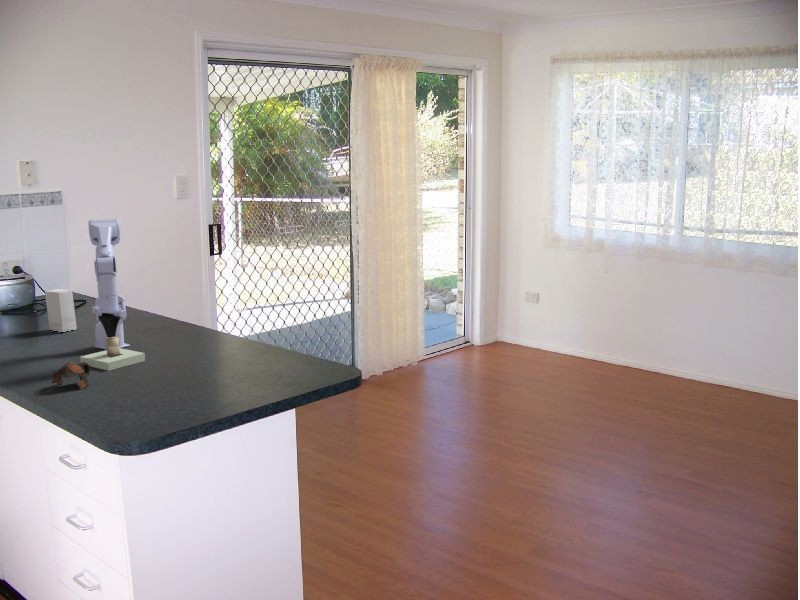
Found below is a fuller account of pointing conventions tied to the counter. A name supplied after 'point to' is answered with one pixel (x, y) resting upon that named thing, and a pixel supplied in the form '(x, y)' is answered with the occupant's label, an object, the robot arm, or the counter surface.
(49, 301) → the skincare box
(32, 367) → the counter surface
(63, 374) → the brown arch piece
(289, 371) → the counter surface
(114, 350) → the beech peg
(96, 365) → the sage board
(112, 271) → the robot arm
